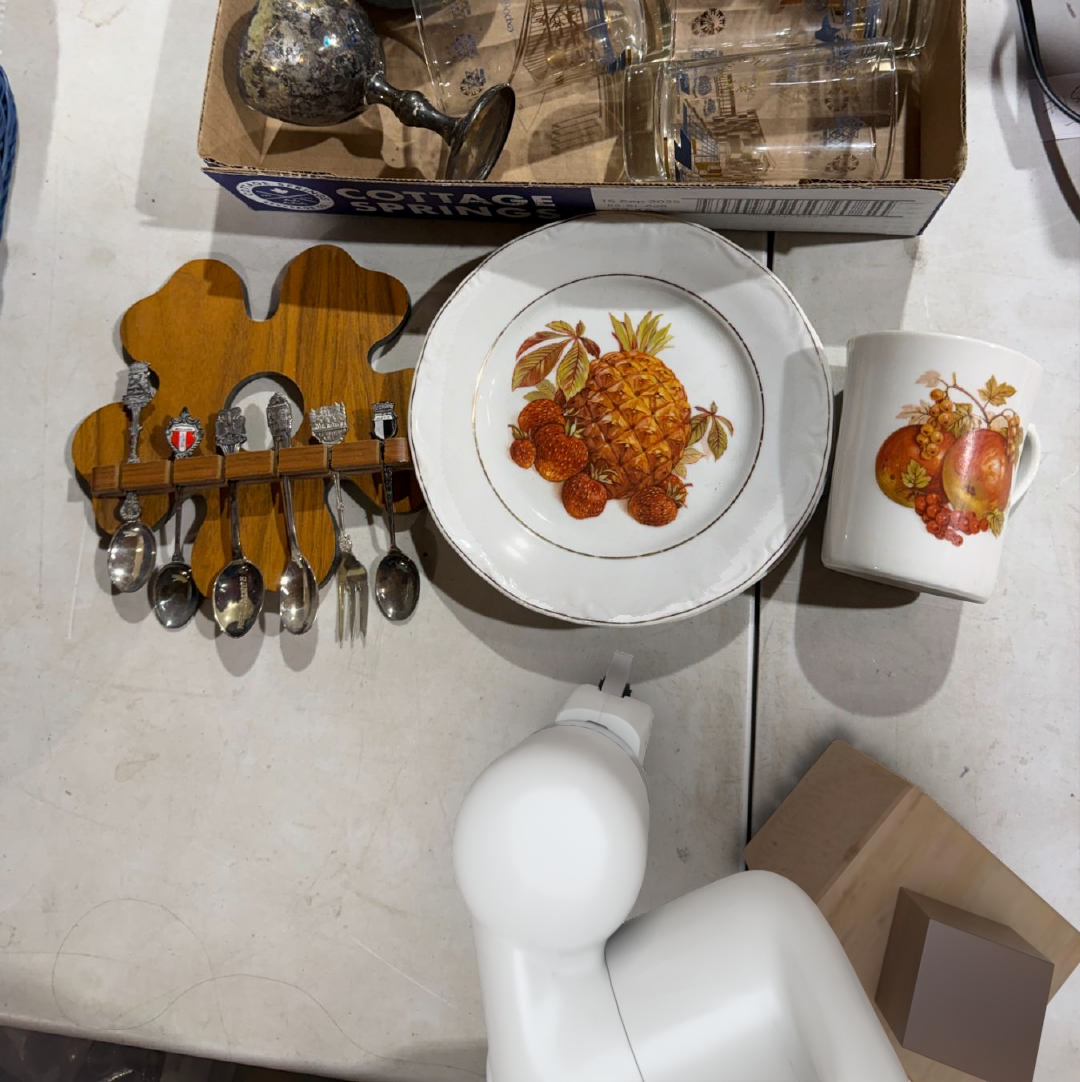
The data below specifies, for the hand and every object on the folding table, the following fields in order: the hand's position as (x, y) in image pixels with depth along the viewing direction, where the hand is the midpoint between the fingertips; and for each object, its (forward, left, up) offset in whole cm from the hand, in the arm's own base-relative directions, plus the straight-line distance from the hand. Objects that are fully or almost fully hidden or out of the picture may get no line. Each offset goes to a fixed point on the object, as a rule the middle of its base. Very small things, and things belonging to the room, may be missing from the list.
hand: (596, 762), depth 65 cm
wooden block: (0, -17, -2) cm, 17 cm away
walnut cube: (-1, -18, +18) cm, 25 cm away
